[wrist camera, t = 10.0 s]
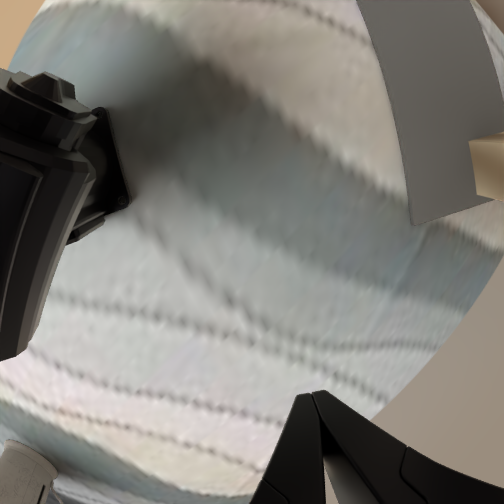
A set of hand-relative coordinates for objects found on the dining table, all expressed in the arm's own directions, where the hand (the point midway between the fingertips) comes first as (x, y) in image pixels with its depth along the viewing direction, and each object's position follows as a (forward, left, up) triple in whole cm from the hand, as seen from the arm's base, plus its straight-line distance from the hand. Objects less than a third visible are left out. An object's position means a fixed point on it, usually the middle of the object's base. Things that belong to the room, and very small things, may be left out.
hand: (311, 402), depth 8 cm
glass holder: (+21, -34, -12) cm, 42 cm away
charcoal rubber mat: (-10, +19, -12) cm, 24 cm away
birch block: (-3, +19, -10) cm, 21 cm away
